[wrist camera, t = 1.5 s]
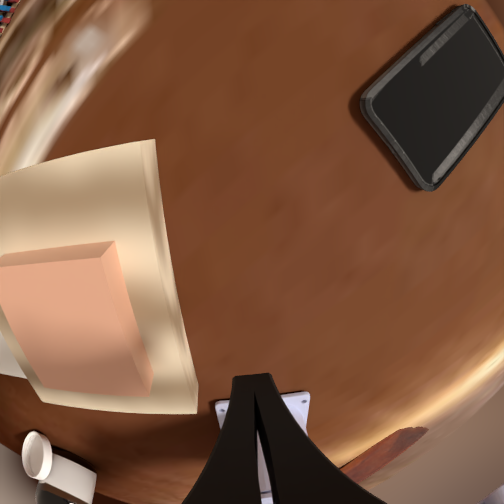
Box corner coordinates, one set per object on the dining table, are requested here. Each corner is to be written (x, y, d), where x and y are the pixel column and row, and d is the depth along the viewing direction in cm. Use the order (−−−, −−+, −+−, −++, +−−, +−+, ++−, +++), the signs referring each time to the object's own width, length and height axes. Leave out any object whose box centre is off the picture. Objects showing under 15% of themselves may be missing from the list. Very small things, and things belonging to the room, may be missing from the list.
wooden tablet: (315, 501, 39) (317, 507, 38) (273, 499, 37) (274, 507, 35) (433, 425, 32) (437, 433, 30) (400, 419, 29) (405, 429, 28)
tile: (153, 373, 17) (149, 396, 15) (54, 368, 17) (44, 387, 15) (115, 240, 13) (100, 257, 12) (4, 253, 13) (-14, 268, 11)
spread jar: (89, 478, 30) (78, 536, 20) (26, 445, 27) (7, 502, 16) (108, 460, 27) (95, 534, 17) (29, 419, 24) (2, 491, 13)
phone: (517, 81, 13) (428, 199, 16) (508, 81, 14) (419, 194, 18) (467, -1, 10) (356, 100, 14) (458, 1, 11) (348, 102, 15)
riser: (198, 384, 22) (196, 413, 19) (53, 378, 21) (42, 401, 18) (154, 138, 15) (139, 141, 12) (-19, 183, 14) (-46, 193, 11)
